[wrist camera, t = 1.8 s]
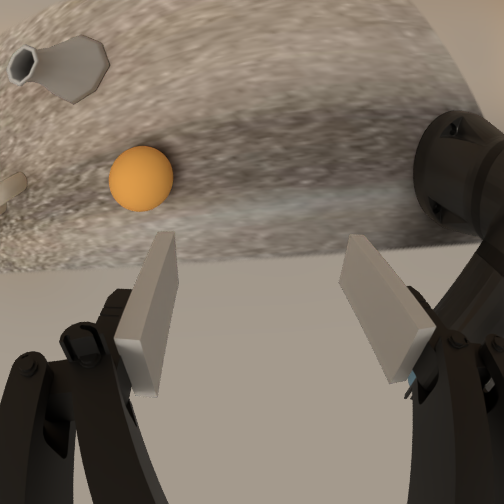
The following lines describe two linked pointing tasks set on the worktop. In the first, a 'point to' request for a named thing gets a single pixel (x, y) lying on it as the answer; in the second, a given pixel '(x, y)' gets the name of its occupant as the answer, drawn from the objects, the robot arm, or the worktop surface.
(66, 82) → the flask
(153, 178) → the ball
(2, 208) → the pin
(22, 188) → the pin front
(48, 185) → the worktop surface
